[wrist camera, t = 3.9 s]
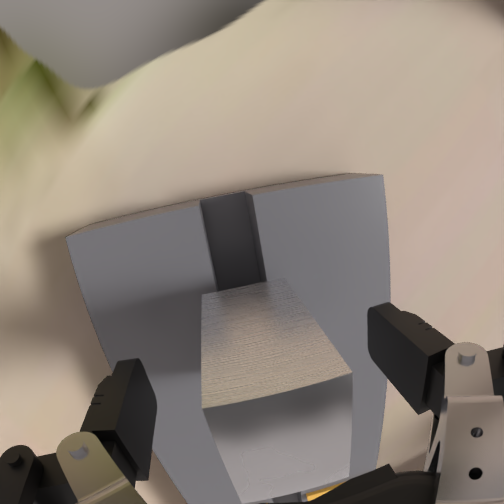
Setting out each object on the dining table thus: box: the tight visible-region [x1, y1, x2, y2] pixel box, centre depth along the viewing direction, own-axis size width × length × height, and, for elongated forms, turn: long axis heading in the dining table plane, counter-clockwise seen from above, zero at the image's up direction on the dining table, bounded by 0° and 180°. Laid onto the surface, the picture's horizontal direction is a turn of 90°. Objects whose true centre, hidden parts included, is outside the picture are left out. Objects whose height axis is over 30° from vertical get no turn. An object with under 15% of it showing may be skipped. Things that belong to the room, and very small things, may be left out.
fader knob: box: [201, 278, 353, 504], centre depth 11 cm, size 4×3×9 cm
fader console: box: [65, 173, 390, 504], centre depth 17 cm, size 28×13×3 cm, turn 10°
